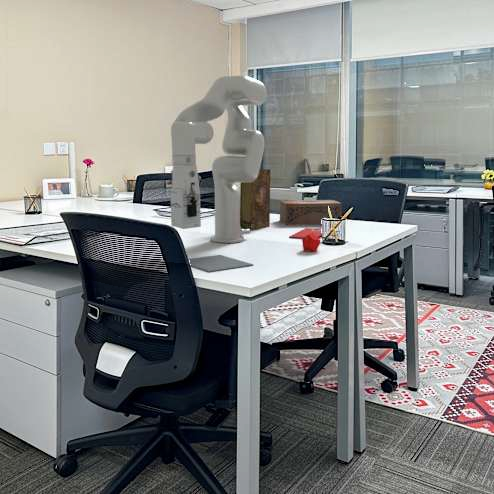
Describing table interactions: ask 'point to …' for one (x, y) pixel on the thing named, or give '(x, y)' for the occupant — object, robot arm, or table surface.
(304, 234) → the red board with handle
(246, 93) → the robot arm
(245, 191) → the book
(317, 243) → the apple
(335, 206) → the tissue box cover
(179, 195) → the supplement box
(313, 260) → the table surface
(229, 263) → the desk mat
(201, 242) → the table surface
